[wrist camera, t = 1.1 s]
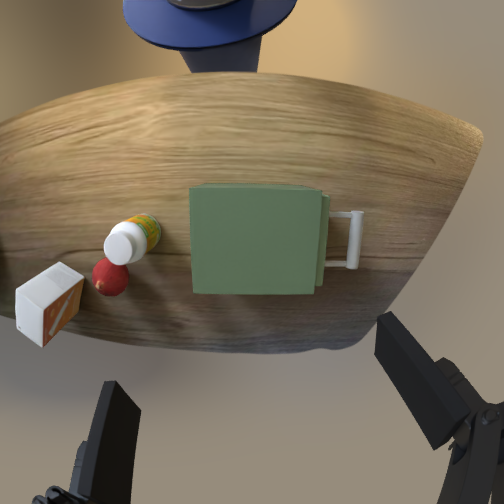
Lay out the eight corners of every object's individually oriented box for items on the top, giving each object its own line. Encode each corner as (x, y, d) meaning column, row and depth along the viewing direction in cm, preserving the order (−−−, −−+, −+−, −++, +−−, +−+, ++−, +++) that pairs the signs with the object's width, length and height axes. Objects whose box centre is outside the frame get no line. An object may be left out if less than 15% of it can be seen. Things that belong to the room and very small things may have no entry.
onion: (139, 284, 41) (119, 307, 33) (109, 285, 41) (87, 306, 33) (132, 249, 39) (110, 267, 32) (102, 251, 39) (77, 268, 31)
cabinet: (301, 185, 37) (322, 190, 27) (297, 263, 40) (313, 294, 30) (204, 183, 37) (189, 188, 27) (205, 262, 40) (193, 293, 30)
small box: (79, 311, 42) (43, 349, 30) (54, 295, 41) (15, 328, 29) (86, 276, 40) (43, 310, 28) (59, 260, 39) (14, 288, 27)
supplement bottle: (167, 225, 38) (145, 242, 29) (152, 255, 40) (127, 279, 30) (138, 206, 37) (108, 218, 28) (123, 237, 39) (93, 255, 29)
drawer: (344, 192, 37) (371, 199, 28) (338, 261, 40) (360, 285, 31) (220, 188, 36) (212, 192, 28) (220, 261, 39) (214, 285, 31)
